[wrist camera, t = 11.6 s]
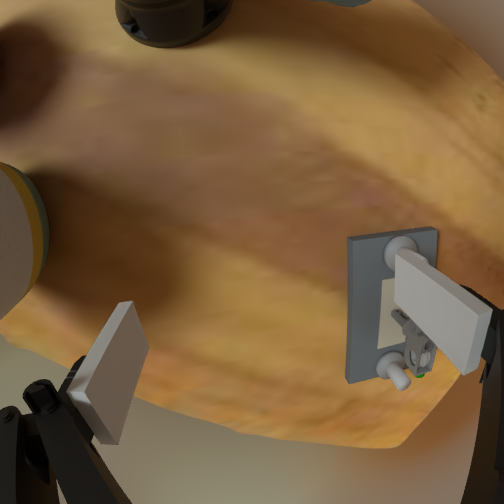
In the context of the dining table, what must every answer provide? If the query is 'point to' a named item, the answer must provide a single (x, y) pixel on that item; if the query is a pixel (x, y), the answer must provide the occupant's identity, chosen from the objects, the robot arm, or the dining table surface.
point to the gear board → (380, 303)
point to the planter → (20, 236)
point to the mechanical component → (416, 345)
